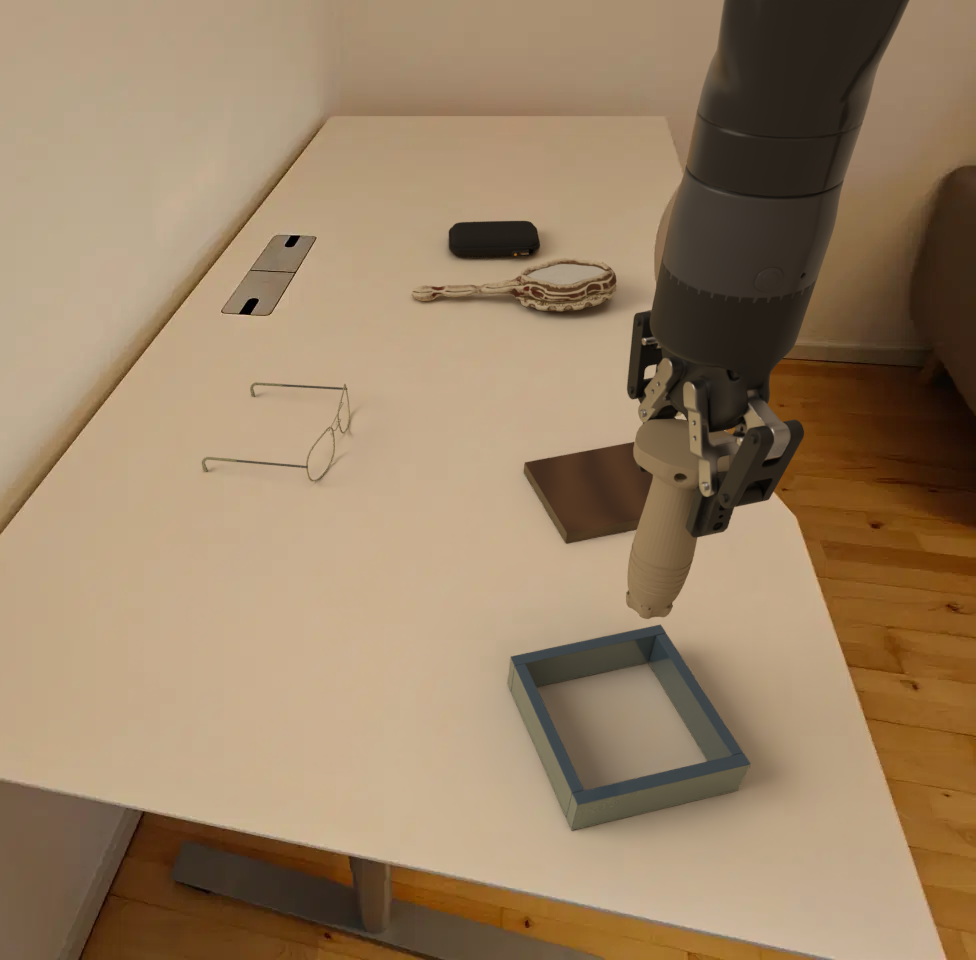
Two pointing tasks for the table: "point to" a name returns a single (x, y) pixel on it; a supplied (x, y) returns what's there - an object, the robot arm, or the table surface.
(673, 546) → the handle
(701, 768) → the blue square frame
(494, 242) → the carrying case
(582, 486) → the board
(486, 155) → the table surface
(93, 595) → the table surface
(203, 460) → the eyeglasses
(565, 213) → the table surface
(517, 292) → the hand mirror
